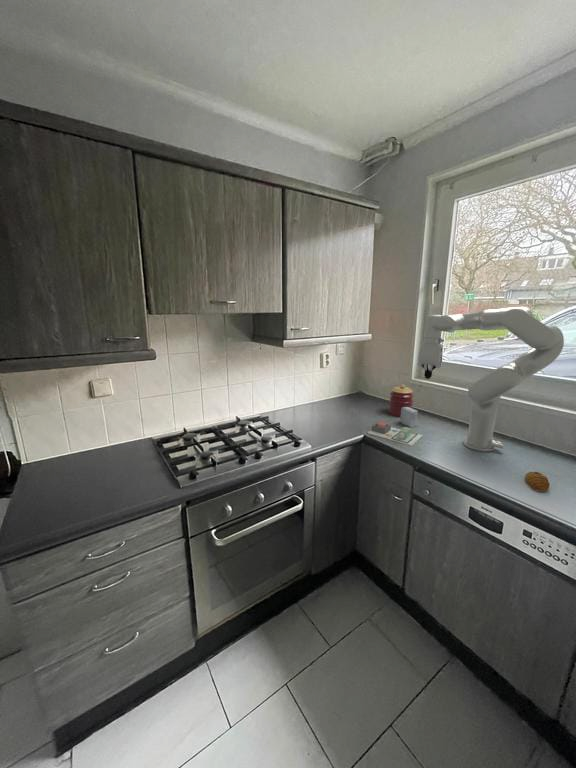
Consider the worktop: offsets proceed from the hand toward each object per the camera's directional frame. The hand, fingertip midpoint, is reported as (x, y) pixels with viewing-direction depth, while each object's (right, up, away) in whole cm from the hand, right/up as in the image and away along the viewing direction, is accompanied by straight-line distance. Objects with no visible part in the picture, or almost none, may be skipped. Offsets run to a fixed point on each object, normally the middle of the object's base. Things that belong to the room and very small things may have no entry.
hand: (427, 378), depth 156 cm
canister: (-3, -20, +30) cm, 36 cm away
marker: (-12, -28, -3) cm, 31 cm away
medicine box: (-5, -25, +13) cm, 29 cm away
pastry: (+21, -39, -42) cm, 62 cm away
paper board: (-16, -28, 0) cm, 32 cm away
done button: (-22, -26, +4) cm, 34 cm away
